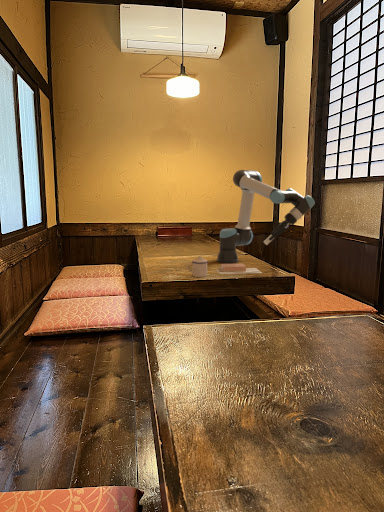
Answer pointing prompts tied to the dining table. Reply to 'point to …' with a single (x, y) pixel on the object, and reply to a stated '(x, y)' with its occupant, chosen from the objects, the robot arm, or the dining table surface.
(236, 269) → the tile
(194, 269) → the teacup with lid
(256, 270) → the board
